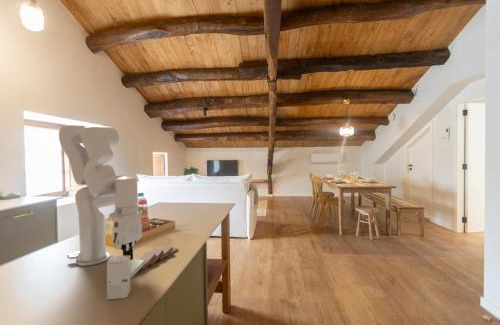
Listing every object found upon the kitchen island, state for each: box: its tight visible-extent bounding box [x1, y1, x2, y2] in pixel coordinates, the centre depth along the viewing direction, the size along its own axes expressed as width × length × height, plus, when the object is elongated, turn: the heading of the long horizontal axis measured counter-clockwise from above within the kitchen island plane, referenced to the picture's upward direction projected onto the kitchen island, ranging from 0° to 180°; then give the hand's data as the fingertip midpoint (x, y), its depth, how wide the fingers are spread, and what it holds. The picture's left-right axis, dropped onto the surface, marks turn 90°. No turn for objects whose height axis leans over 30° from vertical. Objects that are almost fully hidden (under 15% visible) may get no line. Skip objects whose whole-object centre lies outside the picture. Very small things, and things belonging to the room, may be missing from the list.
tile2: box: [148, 248, 164, 267], centre depth 109 cm, size 2×5×8 cm
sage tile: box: [130, 258, 145, 279], centre depth 98 cm, size 2×5×8 cm
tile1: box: [139, 251, 156, 271], centre depth 104 cm, size 2×5×8 cm
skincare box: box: [106, 255, 131, 300], centre depth 83 cm, size 6×4×12 cm
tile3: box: [157, 245, 174, 261], centre depth 114 cm, size 2×5×8 cm
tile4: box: [165, 247, 179, 258], centre depth 118 cm, size 2×5×8 cm
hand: (128, 259), depth 96 cm, fingers closed
